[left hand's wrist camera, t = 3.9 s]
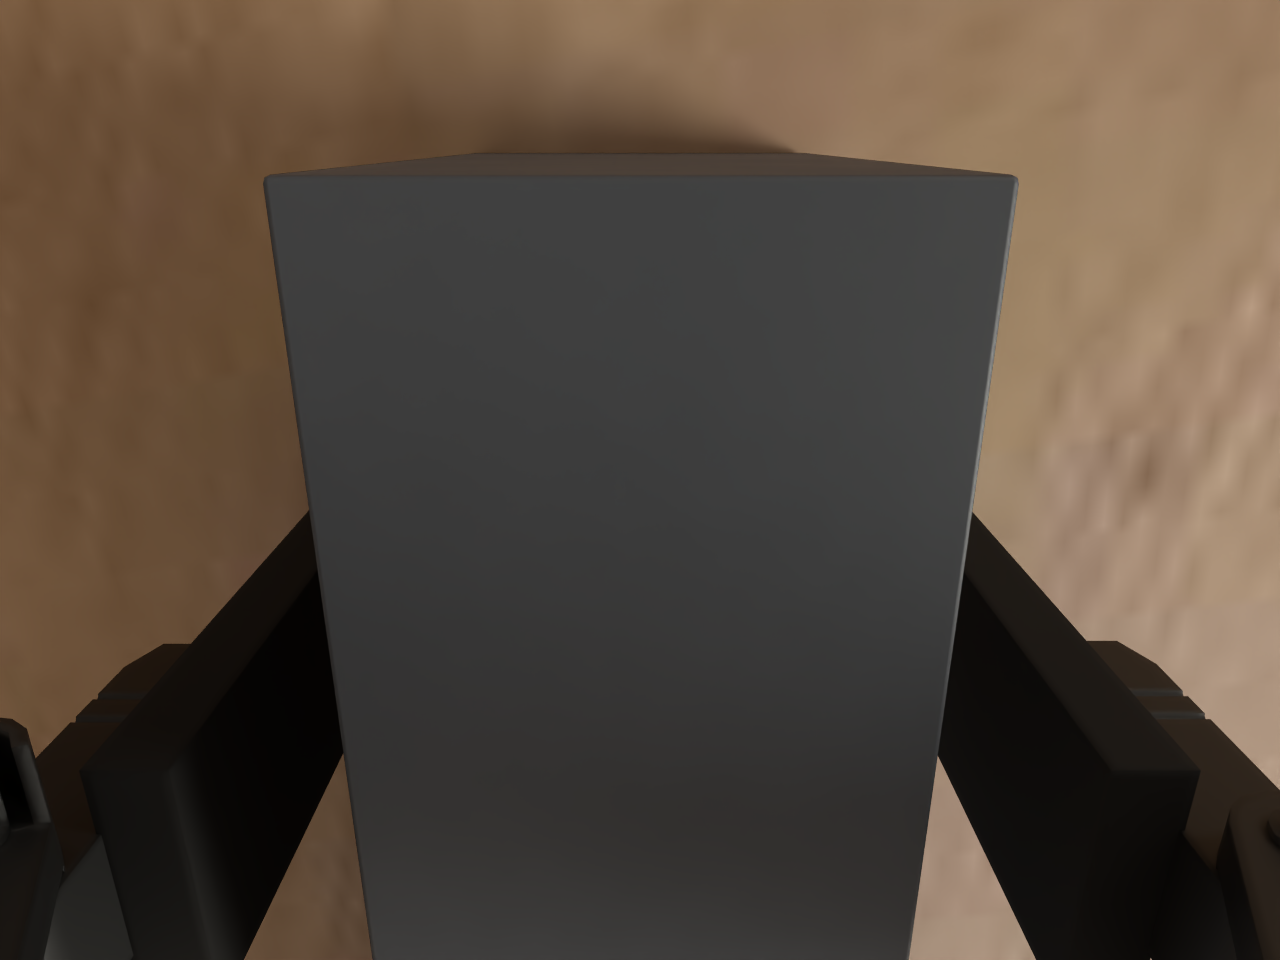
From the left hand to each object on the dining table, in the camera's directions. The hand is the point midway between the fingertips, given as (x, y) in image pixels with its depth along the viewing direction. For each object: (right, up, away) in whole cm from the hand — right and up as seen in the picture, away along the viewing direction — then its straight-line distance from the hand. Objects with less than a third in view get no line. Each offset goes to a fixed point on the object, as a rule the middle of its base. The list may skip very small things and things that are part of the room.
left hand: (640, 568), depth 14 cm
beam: (0, -23, +10) cm, 25 cm away
